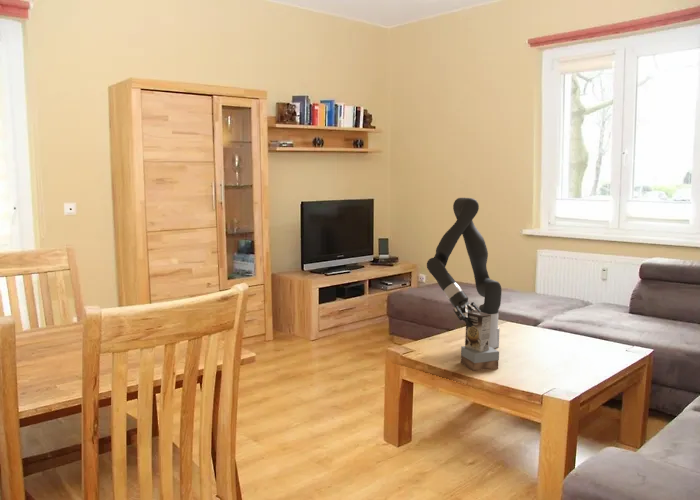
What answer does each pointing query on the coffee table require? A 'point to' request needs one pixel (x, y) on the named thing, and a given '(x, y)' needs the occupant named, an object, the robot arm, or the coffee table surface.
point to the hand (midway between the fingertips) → (476, 324)
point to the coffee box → (478, 331)
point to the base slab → (479, 364)
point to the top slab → (480, 355)
